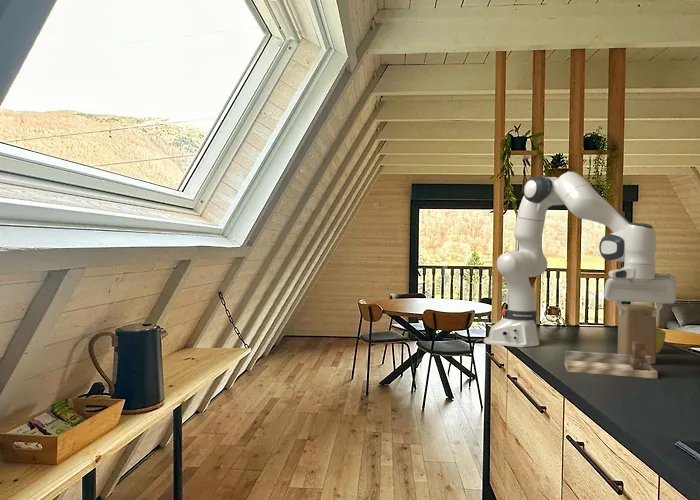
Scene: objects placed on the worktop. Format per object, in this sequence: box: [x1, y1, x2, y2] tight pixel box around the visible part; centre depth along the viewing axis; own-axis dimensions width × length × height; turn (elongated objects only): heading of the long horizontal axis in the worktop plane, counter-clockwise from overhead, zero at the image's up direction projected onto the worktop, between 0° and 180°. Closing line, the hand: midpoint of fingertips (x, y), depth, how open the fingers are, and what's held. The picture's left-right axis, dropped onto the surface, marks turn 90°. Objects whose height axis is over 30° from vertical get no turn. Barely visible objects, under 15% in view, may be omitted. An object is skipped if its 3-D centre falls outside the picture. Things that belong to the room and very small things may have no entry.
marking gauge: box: [630, 341, 648, 370], centre depth 166 cm, size 4×7×8 cm, turn 162°
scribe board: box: [564, 350, 659, 380], centre depth 170 cm, size 26×10×5 cm, turn 72°
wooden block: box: [617, 303, 657, 365], centre depth 186 cm, size 10×10×20 cm
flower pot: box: [656, 327, 666, 354], centre depth 203 cm, size 9×9×9 cm
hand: (638, 316), depth 167 cm, fingers open, 8 cm apart
